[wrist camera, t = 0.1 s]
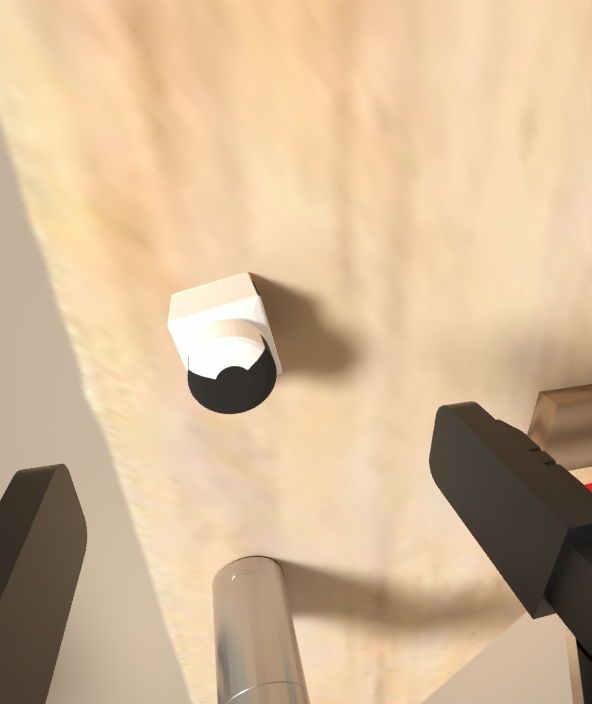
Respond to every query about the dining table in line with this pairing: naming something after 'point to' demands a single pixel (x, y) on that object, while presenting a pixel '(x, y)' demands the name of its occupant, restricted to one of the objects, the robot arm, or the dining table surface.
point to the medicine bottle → (225, 344)
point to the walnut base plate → (564, 426)
